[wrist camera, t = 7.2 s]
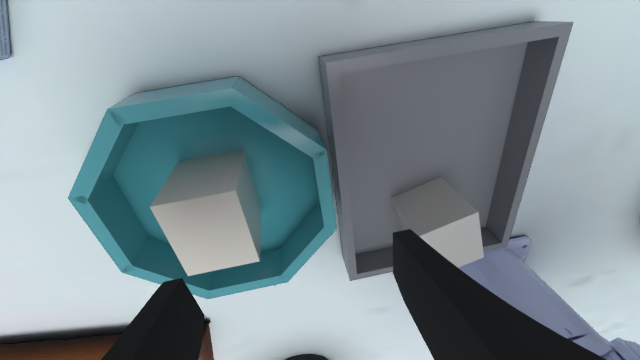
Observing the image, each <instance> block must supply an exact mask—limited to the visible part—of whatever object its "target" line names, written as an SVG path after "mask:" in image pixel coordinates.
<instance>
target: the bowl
mask: <svg viewBox="0 0 640 360" xmlns="http://www.w3.org/2000/svg"><path fill="white" fill-rule="evenodd" d="M239 150H244V152H245V155H246V159H247V162H248V166H249V169H250V172H251V176H252V179H253V182H254V186H255V189H256V193H257V196H258V199H259V203H260V206H261V209H262V221H261V245H260V261H259V262H254V263H249V264H244V265H239V266H235V267H230V268H225V269H220V270H215V271H210V272H206V273H201V274H196V275H191V276H188V275H187V274H186V272H185V270H184V268H183V266H182V265H181V263H180V261H179V259H178V257H177V255H176V254H175V252H174V250H173V248H172V246H171V245H170V243H169V241H168V239H167V237H166V236H165V234H164V232H163V230H162V228H161V227H160V225H159V223H158V221H157V219H156V217H155V216H154V214H153V212H152V210H151V208H150V206H151V204H152V203H153V201H154V199H155V198H156V196H157V195H158V193H159V191H160V190H161V188H162V187H163V185H164V184H165V182H166V180H167V179H168V177H169V176H170V174H171V172H172V171H173V169H174V168H175V166H176V165H177V163H178V161H184V160H189V159H195V158H200V157H206V156H211V155H217V154H223V153H228V152H234V151H239ZM68 199H69V200H70V202H71V203H72V205H73V206H74V207H75V209H76V210H77V211H78V213H79V214H80V216H81V217H82V218H83V220H84V221H85V222H86V224H87V225H88V227H89V228H90V229H91V231H92V232H93V233H94V235H95V236H96V238H97V239H98V240H99V242H100V243H101V244H102V246H103V247H104V249H105V250H106V251H107V253H108V254H109V255H110V257H111V258H112V260H113V261H114V262H115V264H116V265H117V267H118V268H119V269H120V271H121V272H122V273H125V274H129V275H132V276H135V277H138V278H142V279H145V280H148V281H151V282H155V283H158V284H162V283H163V282H165V281H170V280H174V279H179V278H183V280H184V282H185V283H186V285H187V287H188V289H189V290H190V292H191V294H193V295H197V296H200V297H203V298H206V299H211V298H216V297H220V296H225V295H230V294H234V293H239V292H244V291H248V290H253V289H258V288H262V287H267V286H272V285H277V284H281V283H286V282H288V281H289V280H290V279H291V278H292V277H293V276H294V275H295V274H296V273H297V271H298V270H299V269H300V268H301V267H302V266H303V265H304V264H305V263H306V262H307V261H308V259H309V258H310V257H311V256H312V255H313V254H314V253H315V252H316V251H317V250H318V249H319V248H320V246H321V245H322V244H323V243H324V242H325V241H326V240H327V239H328V238H329V237H330V236H331V234H332V233H333V232H334V231H335V230H336V229H337V225H336V218H335V210H334V202H333V194H332V187H331V179H330V171H329V163H328V156H327V150H326V147H325V145H324V143H323V140H322V138H321V135H320V133H319V131H318V130H317V129H315V128H314V127H312V126H311V125H309V124H308V123H306V122H305V121H303V120H302V119H300V118H299V117H298V116H296V115H295V114H293V113H292V112H291V111H289V110H288V109H287V108H286V107H284V106H283V105H282V104H280V103H278V102H277V101H275V100H273V99H272V98H270V97H268V96H267V95H265V94H264V93H262V92H261V91H259V90H258V89H257V88H255V87H254V86H252V85H251V84H249V83H248V82H246V81H245V80H243V79H242V78H240V77H231V78H225V79H219V80H213V81H207V82H201V83H190V84H185V85H181V86H177V87H171V88H165V89H158V90H152V91H146V92H140V93H135V94H133V95H131V96H130V97H128V98H126V99H124V100H123V101H121V102H119V103H117V104H116V105H114V106H112V107H110V108H109V109H107V111H106V113H105V115H104V118H103V120H102V122H101V124H100V127H99V129H98V131H97V133H96V136H95V138H94V140H93V142H92V145H91V147H90V149H89V151H88V154H87V156H86V158H85V160H84V163H83V165H82V167H81V170H80V172H79V174H78V176H77V179H76V181H75V183H74V185H73V188H72V190H71V192H70V194H69V197H68Z"/></svg>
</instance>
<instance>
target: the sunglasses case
mask: <svg viewBox="0 0 640 360" xmlns="http://www.w3.org/2000/svg"><path fill="white" fill-rule="evenodd" d="M210 322H211V321H210ZM210 322H207V323H203V334H202V343H201V349H200V354H199V359H198V360H214V359H213V358H214V357H213V350H212V342H211V335H210V329H209V323H210ZM120 336H121V335H120V334H115V335H104V336H91V337H83V338H76V339H69V340H47V341H38V342H28V343H17V344H3V345H0V360H101V359H102V358H103V357H104V355H105V354H106V353H107V352H108V351H109V349H110V348H111V347H112V346H113V344H114V343H115V342H116V341H117V339H118V338H119V337H120Z"/></svg>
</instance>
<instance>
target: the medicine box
mask: <svg viewBox="0 0 640 360" xmlns="http://www.w3.org/2000/svg"><path fill="white" fill-rule="evenodd" d="M10 52H11V49H10V38H9V21H8V12H7V2H6V0H0V60H2V59H7V58H9V57H10Z"/></svg>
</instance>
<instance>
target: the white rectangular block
mask: <svg viewBox="0 0 640 360" xmlns="http://www.w3.org/2000/svg"><path fill="white" fill-rule="evenodd" d="M150 208H151V210H152V212H153V214H154V216H155V217H156V219H157V221H158V223H159V225H160V227H161V228H162V230H163V232H164V234H165V236H166V237H167V239H168V241H169V243H170V245H171V246H172V248H173V250H174V252H175V254H176V255H177V257H178V259H179V261H180V263H181V265H182V266H183V268H184V270H185V272H186V274H187V275H188V276H191V275H196V274H201V273H206V272H210V271H215V270H220V269H225V268H230V267H235V266H239V265H244V264H249V263H254V262H259V261H260V245H261V221H262V209H261V206H260V203H259V199H258V196H257V193H256V189H255V186H254V182H253V179H252V176H251V172H250V169H249V166H248V162H247V159H246V155H245V152H244V150H239V151H234V152H228V153H223V154H217V155H211V156H206V157H200V158H195V159H189V160H184V161H178V163H177V165H176V166H175V168H174V169H173V171H172V172H171V174H170V176H169V177H168V179H167V180H166V182H165V184H164V185H163V187H162V188H161V190H160V191H159V193H158V195H157V196H156V198H155V199H154V201H153V203H152V204H151V206H150Z"/></svg>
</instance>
